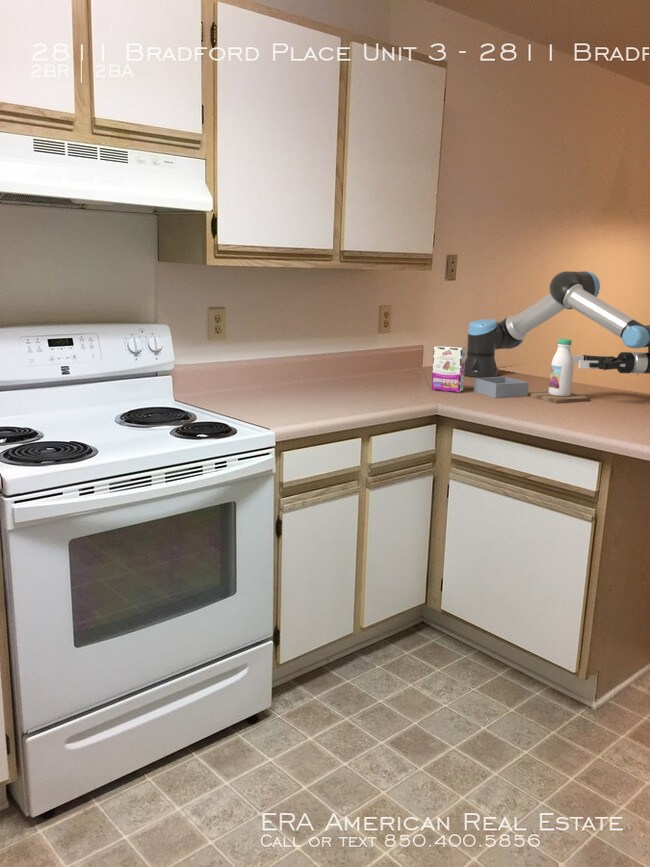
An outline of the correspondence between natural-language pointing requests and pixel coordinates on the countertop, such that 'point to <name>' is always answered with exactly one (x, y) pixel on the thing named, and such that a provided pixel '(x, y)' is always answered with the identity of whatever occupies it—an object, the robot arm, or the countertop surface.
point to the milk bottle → (561, 370)
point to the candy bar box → (448, 369)
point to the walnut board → (559, 397)
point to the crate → (501, 387)
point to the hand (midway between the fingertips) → (572, 361)
